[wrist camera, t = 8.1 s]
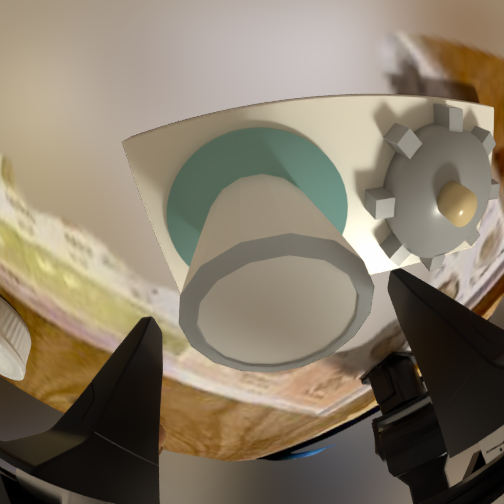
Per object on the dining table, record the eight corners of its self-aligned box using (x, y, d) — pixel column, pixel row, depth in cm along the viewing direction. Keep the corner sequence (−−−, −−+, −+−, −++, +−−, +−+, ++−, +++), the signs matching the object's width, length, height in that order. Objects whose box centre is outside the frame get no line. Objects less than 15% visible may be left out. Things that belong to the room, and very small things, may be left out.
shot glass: (191, 163, 13) (158, 239, 7) (329, 164, 13) (400, 234, 7) (201, 275, 17) (192, 376, 11) (313, 271, 17) (347, 365, 11)
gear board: (480, 103, 12) (523, 118, 9) (464, 237, 19) (493, 267, 15) (131, 136, 13) (97, 157, 10) (190, 295, 20) (184, 343, 16)
